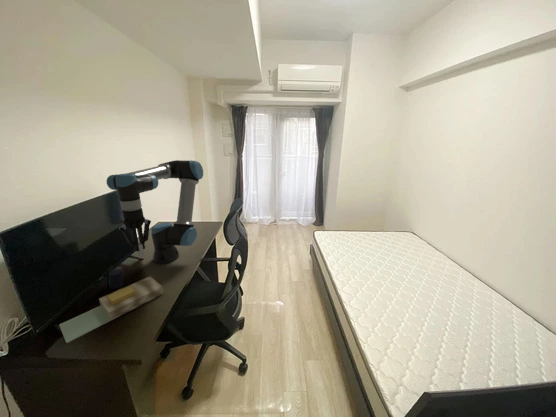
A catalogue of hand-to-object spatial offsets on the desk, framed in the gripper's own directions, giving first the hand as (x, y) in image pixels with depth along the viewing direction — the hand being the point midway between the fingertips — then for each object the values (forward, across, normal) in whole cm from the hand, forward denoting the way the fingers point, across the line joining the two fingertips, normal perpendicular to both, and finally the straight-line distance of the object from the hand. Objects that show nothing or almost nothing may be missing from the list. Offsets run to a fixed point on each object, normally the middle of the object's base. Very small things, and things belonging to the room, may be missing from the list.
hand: (141, 256), depth 104 cm
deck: (+20, +7, 0) cm, 21 cm away
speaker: (+20, +8, -19) cm, 29 cm away
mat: (+20, +25, 0) cm, 32 cm away
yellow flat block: (+16, +11, 0) cm, 20 cm away
